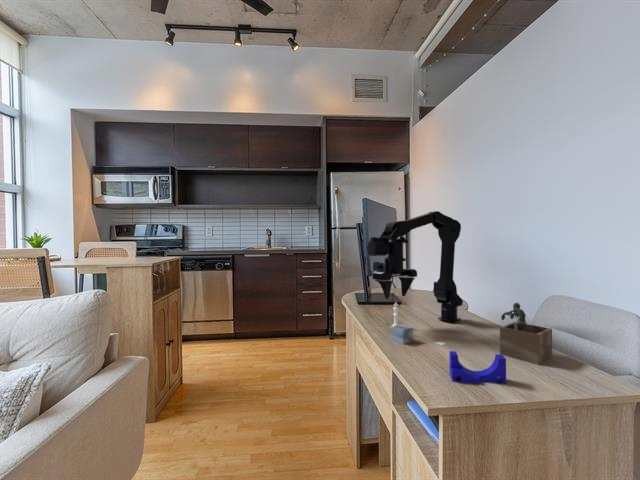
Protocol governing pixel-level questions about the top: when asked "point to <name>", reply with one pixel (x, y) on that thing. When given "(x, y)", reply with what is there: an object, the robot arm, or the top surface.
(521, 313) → the zombie figurine
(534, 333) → the open brown box
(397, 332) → the blue cube
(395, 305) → the chess piece
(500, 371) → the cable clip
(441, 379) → the top surface
